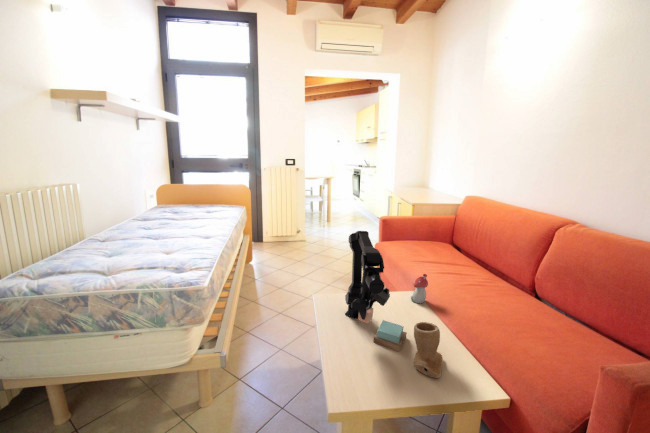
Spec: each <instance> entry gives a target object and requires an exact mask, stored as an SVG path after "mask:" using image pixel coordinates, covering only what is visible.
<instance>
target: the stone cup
mask: <svg viewBox="0 0 650 433" xmlns="http://www.w3.org/2000/svg"><path fill="white" fill-rule="evenodd" d="M413 338H414V341H415V344H416V345H415V346H416V350H417V351H416V352H415V355H414V359H413V360H414V361H413V367H414V368H415V369H416V370H418V371H419V372H420V373H421V374H423V375H425V376H427V377H430V378H434V379H435V378H436V379H439V378H441V374H442V368H443V355H442V353H440V352H438V349H439V348H438V347H439V345H440V341H441V331H440V328H439V327H438V325H436V324H434V323H433V322H427V321H420V322H417V323H415V325H414V327H413Z"/></svg>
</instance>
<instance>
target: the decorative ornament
mask: <svg viewBox="0 0 650 433" xmlns="http://www.w3.org/2000/svg"><path fill="white" fill-rule="evenodd" d="M427 277H428V275H427V274H426V273H423V274H422V276H418V277H416V278H415V279H414V282H413V284H412V285H413V287H414V290H413V292H412V295H411V296H410V300H411V301H412V303H415V304H422V303H424V302H425V301H426V299H427V291H426V289H425V288H427V287H428V286H429V282H428V279H427Z"/></svg>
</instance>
